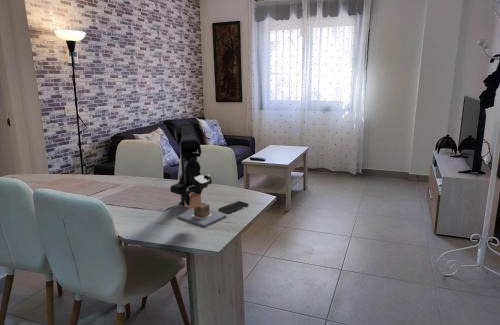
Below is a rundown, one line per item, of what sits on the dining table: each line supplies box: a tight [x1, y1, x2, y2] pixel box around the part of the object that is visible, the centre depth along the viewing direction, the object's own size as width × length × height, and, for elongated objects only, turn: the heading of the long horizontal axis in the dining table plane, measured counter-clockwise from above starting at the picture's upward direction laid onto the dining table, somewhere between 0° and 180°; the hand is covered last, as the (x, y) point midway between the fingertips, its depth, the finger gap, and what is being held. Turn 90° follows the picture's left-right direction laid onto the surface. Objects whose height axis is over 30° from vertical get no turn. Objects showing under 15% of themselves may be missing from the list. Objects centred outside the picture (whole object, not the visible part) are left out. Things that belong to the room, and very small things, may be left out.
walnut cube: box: [193, 201, 210, 218], centre depth 162 cm, size 5×5×5 cm
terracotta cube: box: [184, 192, 202, 210], centre depth 151 cm, size 5×5×5 cm
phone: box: [218, 200, 250, 215], centre depth 174 cm, size 8×1×15 cm
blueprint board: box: [177, 208, 227, 228], centre depth 162 cm, size 18×14×1 cm
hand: (192, 203), depth 151 cm, fingers closed on terracotta cube, 5 cm apart
